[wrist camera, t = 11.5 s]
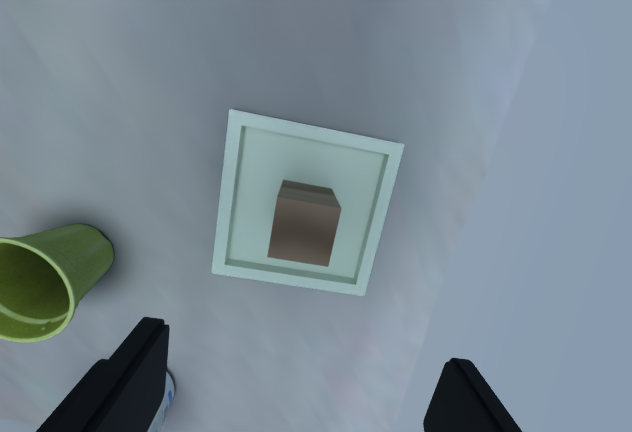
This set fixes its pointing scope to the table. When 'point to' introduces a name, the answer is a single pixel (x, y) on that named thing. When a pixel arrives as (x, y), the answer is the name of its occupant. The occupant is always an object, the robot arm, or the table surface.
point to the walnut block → (304, 223)
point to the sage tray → (310, 168)
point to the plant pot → (48, 279)
